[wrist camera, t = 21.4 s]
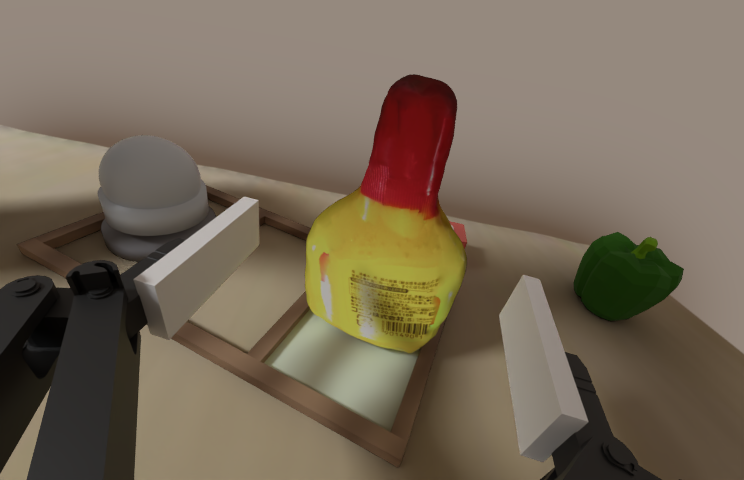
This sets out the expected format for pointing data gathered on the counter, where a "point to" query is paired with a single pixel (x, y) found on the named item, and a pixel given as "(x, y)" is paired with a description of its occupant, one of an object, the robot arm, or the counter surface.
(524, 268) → the counter surface
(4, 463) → the robot arm
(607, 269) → the bell pepper
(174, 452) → the counter surface
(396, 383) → the divided wooden frame
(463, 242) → the die
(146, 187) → the dome
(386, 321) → the bottle
